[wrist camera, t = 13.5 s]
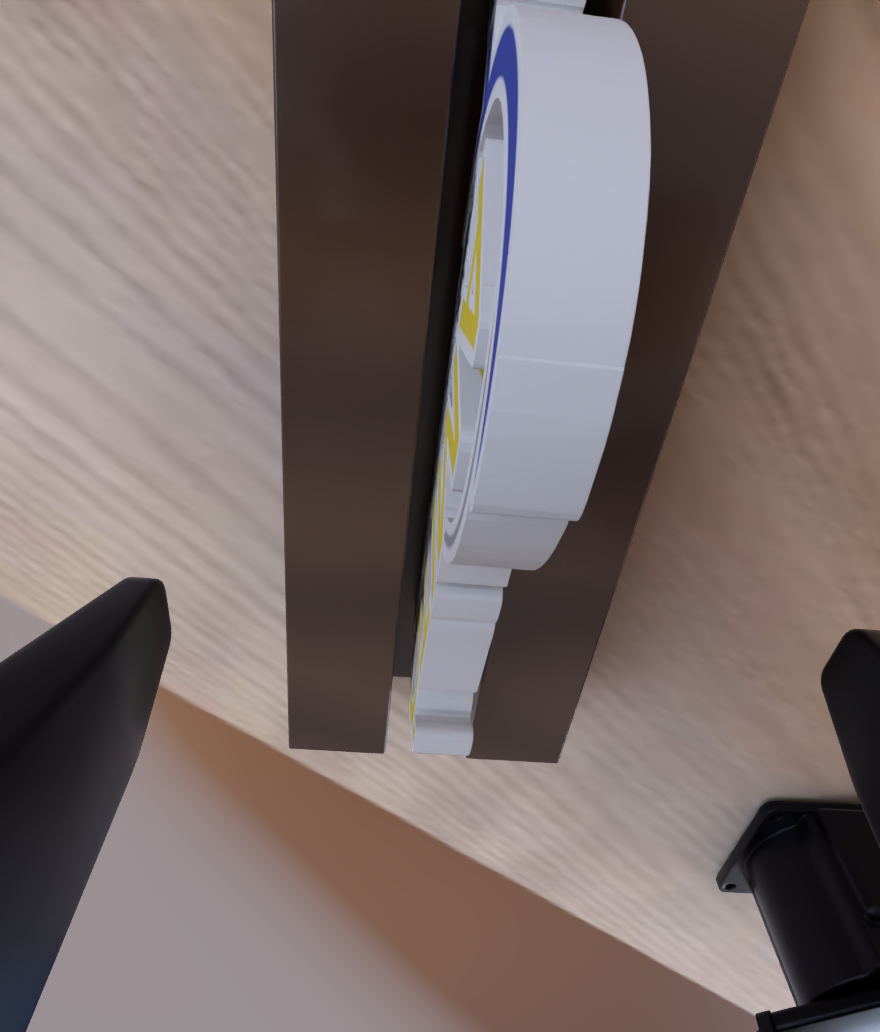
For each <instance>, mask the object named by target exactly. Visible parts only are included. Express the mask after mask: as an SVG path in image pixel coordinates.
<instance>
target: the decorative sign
mask: <svg viewBox="0 0 880 1032" xmlns="http://www.w3.org/2000/svg"><path fill="white" fill-rule="evenodd" d="M585 3H586V0H490V9H489V21H488V33H487V58H486V70H485V81H484V93H483V104H482V111H481V117H480V123H479V128H478V134H477V140H476V146H475V152H474V158H473V164H472V171H471V178H470V184H469V191H468V198H467V205H466V212H465V219H464V227H463V235H462V248H463V255H462V263H461V270H460V276H459V281H458V288H457V296H456V307H455V316H454V326H453V331H452V339H451V346H450V353H449V361H448V369H447V375H446V382H445V389H444V397H443V404H442V411H441V420H440V426H439V432H438V441H437V448H436V455H435V461H434V469H433V479H432V484H431V496H430V503H429V505H428V515H427V520H426V528H425V535H424V542H423V550H422V556H421V566H420V571H419V578H418V586H417V593H416V600H415V611H414V627H413V633H414V644H413V656H412V670H411V687H410V710H409V731H410V736H412V753H425V754H444V755H462V756H469V754H470V752H471V748H472V743H473V726H472V723H471V720H470V715H471V710H472V702H473V693H474V692H477V690H478V687H479V683H480V680H481V676H482V672H483V669H484V665H485V662H486V658H487V655H488V651H489V648H490V644H491V641H492V638H493V634H494V630H495V623H496V622H497V620H498V617H499V613H500V610H501V606H502V601H503V587H507V585H508V581H509V578H510V574H511V570H512V569H520V570H536V569H538V568H540V567H541V566H542V565H543V564H544V563H545V562H546V561H547V560H548V559H549V557H550V556H551V554H552V553H553V551H554V550H555V548H556V546H557V544H558V542H559V540H560V539H561V537H562V535H563V533H564V531H565V529H566V527H567V525H568V522H569V521H578V520H579V519H580V517H581V515H582V513H583V511H584V508H585V506H586V503H587V500H588V497H589V494H590V491H591V488H592V485H593V482H594V479H595V476H596V473H597V470H598V467H599V464H600V460H601V457H602V454H603V451H604V448H605V445H606V441H607V438H608V434H609V431H610V427H611V423H612V420H613V415H614V411H615V407H616V403H617V399H618V395H619V391H620V386H621V382H622V378H623V374H624V368H625V363H626V359H627V354H628V350H629V345H630V340H631V335H632V330H633V324H634V318H635V313H636V306H637V299H638V293H639V286H640V279H641V272H642V264H643V254H644V245H645V235H646V226H647V215H648V203H649V190H650V165H651V130H650V107H649V96H648V85H647V77H646V70H645V65H644V60H643V55H642V52H641V49H640V46H639V43H638V40H637V38H636V36H635V34H634V32H633V30H632V29H631V28H630V27H629V25H628V24H627V23H626V22H624V21H622V20H620V19H614V18H607V17H600V16H593V15H585V14H583V10H584V7H585Z"/></svg>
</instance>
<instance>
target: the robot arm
mask: <svg viewBox="0 0 880 1032" xmlns="http://www.w3.org/2000/svg"><path fill="white" fill-rule="evenodd" d="M170 641H171V623H170V616H169V610H168V603H167V597H166V590H165V587H164V584H163V582H162V581H160V580H159V579H152V578H138V577H129V578H126V579H124V580H122V581H121V582H119V583H118V584H116V585H115V586H113V587H112V588H110V589H109V590H107V591H106V592H104V593H103V594H101V595H100V596H98V597H97V598H95V599H94V600H92V601H91V602H89V603H88V604H86V605H85V606H84V607H82V608H81V609H79V610H78V611H76V612H75V613H73V614H72V615H70V616H69V617H67V618H66V619H64V620H63V621H61V622H60V623H58V624H57V625H55V626H54V627H52V628H51V629H49V630H48V631H46V632H45V633H44V634H42V635H41V636H39V637H38V638H36V639H35V640H33V641H32V642H30V643H29V644H27V645H26V646H24V647H23V648H21V649H20V650H18V651H17V652H15V653H14V654H12V655H11V656H9V657H8V658H6V659H5V660H4V661H2V662H0V1032H26V1030H27V1027H28V1025H29V1023H30V1020H31V1018H32V1015H33V1013H34V1010H35V1008H36V1005H37V1003H38V1000H39V998H40V996H41V993H42V991H43V988H44V986H45V984H46V981H47V979H48V976H49V974H50V971H51V969H52V967H53V964H54V962H55V959H56V957H57V954H58V952H59V949H60V947H61V945H62V942H63V940H64V937H65V935H66V932H67V930H68V927H69V925H70V923H71V920H72V918H73V915H74V913H75V910H76V908H77V906H78V903H79V901H80V898H81V896H82V893H83V891H84V889H85V886H86V884H87V881H88V879H89V876H90V874H91V872H92V869H93V867H94V864H95V862H96V859H97V857H98V854H99V852H100V850H101V847H102V845H103V842H104V840H105V837H106V835H107V832H108V830H109V828H110V825H111V823H112V820H113V818H114V815H115V813H116V811H117V808H118V806H119V803H120V801H121V798H122V796H123V794H124V791H125V789H126V786H127V784H128V781H129V779H130V776H131V774H132V771H133V769H134V766H135V763H136V761H137V758H138V756H139V752H140V749H141V746H142V742H143V739H144V735H145V732H146V729H147V724H148V721H149V718H150V714H151V711H152V707H153V703H154V700H155V696H156V693H157V689H158V686H159V682H160V678H161V675H162V671H163V668H164V664H165V661H166V657H167V653H168V650H169V646H170ZM821 686H822V691H823V694H824V697H825V700H826V703H827V706H828V709H829V712H830V715H831V718H832V721H833V724H834V727H835V731H836V734H837V737H838V740H839V743H840V746H841V749H842V752H843V755H844V758H845V761H846V764H847V767H848V771H849V774H850V777H851V779H852V782H853V785H854V788H855V791H856V793H857V796H858V798H859V801H860V803H861V806H860V805H841V804H822V803H803V802H784V801H772V802H768V803H766V804H764V805H763V806H762V807H761V808H760V810H759V811H758V813H757V814H756V816H755V817H754V819H753V821H752V822H751V824H750V825H749V827H748V828H747V830H746V832H745V833H744V835H743V836H742V838H741V840H740V841H739V843H738V844H737V846H736V847H735V849H734V851H733V852H732V854H731V855H730V857H729V858H728V860H727V862H726V863H725V865H724V866H723V868H722V869H721V871H720V873H719V874H718V876H717V877H716V881H717V884H718V887H719V889H720V890H721V891H722V892H734V893H753V896H754V898H755V901H756V904H757V906H758V909H759V911H760V914H761V916H762V919H763V922H764V924H765V927H766V929H767V932H768V934H769V937H770V939H771V942H772V945H773V947H774V950H775V952H776V955H777V957H778V960H779V963H780V965H781V968H782V970H783V973H784V975H785V978H786V981H787V983H788V986H789V988H790V991H791V993H792V996H793V998H794V1001H795V1004H796V1007H792V1008H788V1009H784V1010H780V1011H776V1012H772V1013H771V1012H770V1011H769V1010H768V1011H764V1012H761V1013H757V1014H756V1020H757V1023H758V1027H759V1030H758V1031H757V1032H880V631H879V630H867V629H852V630H850V631H848V632H847V633H845V635H844V636H843V637H842V639H841V641H840V642H839V644H838V646H837V647H836V649H835V651H834V652H833V654H832V655H831V657H830V659H829V660H828V662H827V664H826V665H825V667H824V669H823V671H822V675H821Z"/></svg>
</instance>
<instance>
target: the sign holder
mask: <svg viewBox="0 0 880 1032" xmlns="http://www.w3.org/2000/svg"><path fill="white" fill-rule="evenodd" d="M808 3H809V0H586V3H585V7H584V10H583V14H585V15H593V16H600V17H607V18H614V19H620V20H622V21H624V22H626V23H627V24H628V25H629V27H630V28H631V29H632V30H633V32H634V34H635V36H636V38H637V40H638V43H639V46H640V49H641V52H642V55H643V60H644V65H645V70H646V77H647V85H648V96H649V107H650V130H651V165H650V190H649V203H648V215H647V226H646V235H645V245H644V254H643V264H642V272H641V279H640V286H639V293H638V299H637V306H636V313H635V318H634V324H633V330H632V335H631V340H630V345H629V350H628V354H627V359H626V363H625V368H624V374H623V378H622V382H621V386H620V391H619V395H618V399H617V403H616V407H615V411H614V415H613V420H612V423H611V427H610V431H609V434H608V438H607V441H606V445H605V448H604V451H603V454H602V457H601V460H600V464H599V467H598V470H597V473H596V476H595V479H594V482H593V485H592V488H591V491H590V494H589V497H588V500H587V503H586V506H585V508H584V511H583V513H582V515H581V517H580V519H579V520H578V521H569V522H568V525H567V527H566V529H565V531H564V533H563V535H562V537H561V539H560V540H559V542H558V544H557V546H556V548H555V550H554V551H553V553H552V554H551V556H550V557H549V559H548V560H547V561H546V562H545V563H544V564H543V565H542V566H541V567H540V568H538V569H536V570H520V569H512V570H511V574H510V578H509V581H508V585H507V587H503V601H502V606H501V610H500V613H499V617H498V620H497V622H496V623H495V630H494V634H493V638H492V641H491V644H490V648H489V651H488V655H487V658H486V662H485V665H484V669H483V672H482V676H481V680H480V683H479V687H478V690H477V692H474V693H473V702H472V710H471V715H470V720H471V723H472V726H473V743H472V748H471V752H470V754H469V756H466V757H467V758H472V759H490V760H508V761H526V762H544V763H558V761H559V758H560V755H561V752H562V749H563V746H564V743H565V740H566V737H567V734H568V731H569V728H570V725H571V722H572V719H573V716H574V713H575V710H576V707H577V704H578V700H579V697H580V694H581V691H582V688H583V685H584V682H585V679H586V676H587V673H588V670H589V667H590V664H591V661H592V658H593V655H594V652H595V649H596V646H597V643H598V640H599V637H600V634H601V631H602V628H603V625H604V622H605V619H606V616H607V613H608V610H609V607H610V603H611V600H612V597H613V594H614V591H615V588H616V585H617V582H618V579H619V576H620V573H621V570H622V567H623V564H624V561H625V558H626V555H627V552H628V549H629V546H630V543H631V540H632V537H633V534H634V531H635V528H636V525H637V522H638V519H639V516H640V513H641V510H642V506H643V503H644V500H645V497H646V494H647V491H648V488H649V485H650V482H651V479H652V476H653V473H654V470H655V467H656V464H657V461H658V458H659V455H660V452H661V449H662V446H663V443H664V440H665V437H666V434H667V431H668V428H669V425H670V422H671V419H672V416H673V412H674V409H675V406H676V403H677V400H678V397H679V394H680V391H681V388H682V385H683V382H684V379H685V376H686V373H687V370H688V367H689V364H690V361H691V358H692V355H693V352H694V349H695V346H696V343H697V340H698V337H699V334H700V331H701V328H702V325H703V322H704V319H705V315H706V312H707V309H708V306H709V303H710V300H711V297H712V294H713V291H714V288H715V285H716V282H717V279H718V276H719V273H720V270H721V267H722V264H723V261H724V258H725V255H726V252H727V249H728V246H729V243H730V240H731V237H732V234H733V231H734V228H735V225H736V222H737V218H738V215H739V212H740V209H741V206H742V203H743V200H744V197H745V194H746V191H747V188H748V185H749V182H750V179H751V176H752V173H753V170H754V167H755V164H756V161H757V158H758V155H759V152H760V149H761V146H762V143H763V140H764V137H765V134H766V131H767V128H768V124H769V121H770V118H771V115H772V112H773V109H774V106H775V103H776V100H777V97H778V94H779V91H780V88H781V85H782V82H783V79H784V76H785V73H786V70H787V67H788V64H789V61H790V58H791V55H792V52H793V49H794V46H795V43H796V40H797V37H798V34H799V31H800V27H801V24H802V21H803V18H804V15H805V12H806V9H807V6H808ZM489 9H490V0H272V35H273V78H274V121H275V164H276V207H277V250H278V293H279V337H280V380H281V423H282V466H283V509H284V552H285V595H286V638H287V682H288V725H289V748H291V749H309V750H327V751H345V752H363V753H381V754H383V753H385V748H386V738H387V728H388V718H389V708H390V698H391V689H392V679H393V676H395V677H411V670H412V656H413V644H414V633H413V627H414V611H415V600H416V593H417V586H418V578H419V571H420V566H421V556H422V550H423V542H424V535H425V528H426V520H427V515H428V505H429V503H430V496H431V484H432V479H433V469H434V461H435V455H436V448H437V441H438V432H439V426H440V420H441V411H442V404H443V397H444V389H445V382H446V375H447V369H448V361H449V353H450V346H451V339H452V331H453V326H454V316H455V307H456V296H457V288H458V281H459V276H460V270H461V263H462V255H463V248H462V235H463V227H464V219H465V212H466V205H467V198H468V191H469V184H470V178H471V171H472V164H473V158H474V152H475V146H476V140H477V134H478V128H479V123H480V117H481V111H482V104H483V93H484V81H485V70H486V58H487V33H488V21H489Z"/></svg>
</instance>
